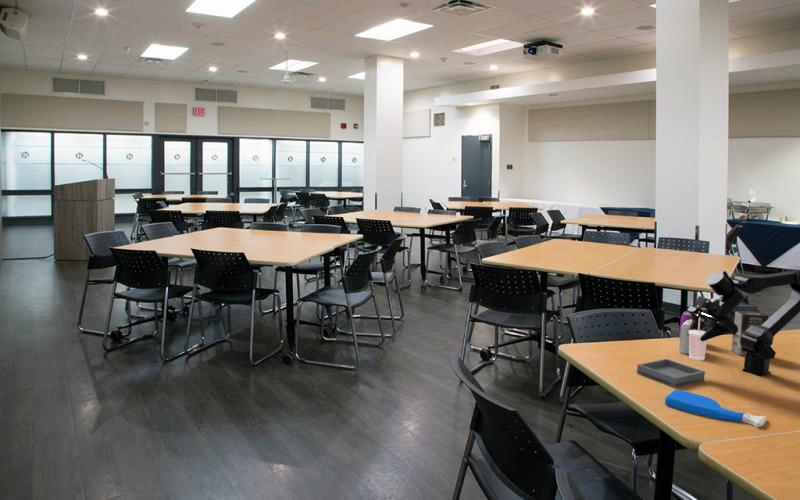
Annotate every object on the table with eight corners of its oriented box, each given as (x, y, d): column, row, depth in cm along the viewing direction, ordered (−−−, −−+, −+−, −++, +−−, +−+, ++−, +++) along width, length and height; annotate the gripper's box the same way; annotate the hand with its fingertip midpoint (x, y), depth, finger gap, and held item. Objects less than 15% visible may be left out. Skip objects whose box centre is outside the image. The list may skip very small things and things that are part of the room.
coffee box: (738, 355, 210) (742, 314, 208) (730, 350, 217) (734, 310, 214) (764, 356, 209) (768, 315, 207) (755, 351, 216) (759, 311, 214)
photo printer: (687, 347, 221) (689, 316, 219) (698, 349, 217) (701, 318, 216) (677, 352, 213) (679, 321, 212) (689, 355, 210) (691, 323, 209)
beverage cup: (685, 358, 188) (687, 318, 186) (688, 353, 192) (691, 314, 191) (705, 362, 184) (708, 320, 182) (708, 357, 189) (711, 317, 187)
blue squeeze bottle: (663, 397, 163) (761, 424, 146) (675, 387, 171) (769, 411, 154) (662, 407, 163) (759, 434, 147) (674, 396, 171) (767, 421, 155)
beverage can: (685, 338, 233) (688, 310, 232) (703, 342, 227) (706, 314, 225) (675, 340, 229) (677, 312, 227) (693, 345, 223) (695, 316, 221)
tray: (704, 380, 184) (704, 371, 184) (674, 387, 178) (675, 378, 177) (665, 366, 197) (666, 358, 197) (637, 372, 190) (637, 364, 190)
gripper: (693, 283, 195) (663, 315, 195) (732, 294, 176) (699, 329, 176) (712, 304, 197) (682, 335, 197) (753, 317, 179) (719, 352, 178)
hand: (694, 337), depth 187 cm, fingers closed on beverage cup, 6 cm apart
